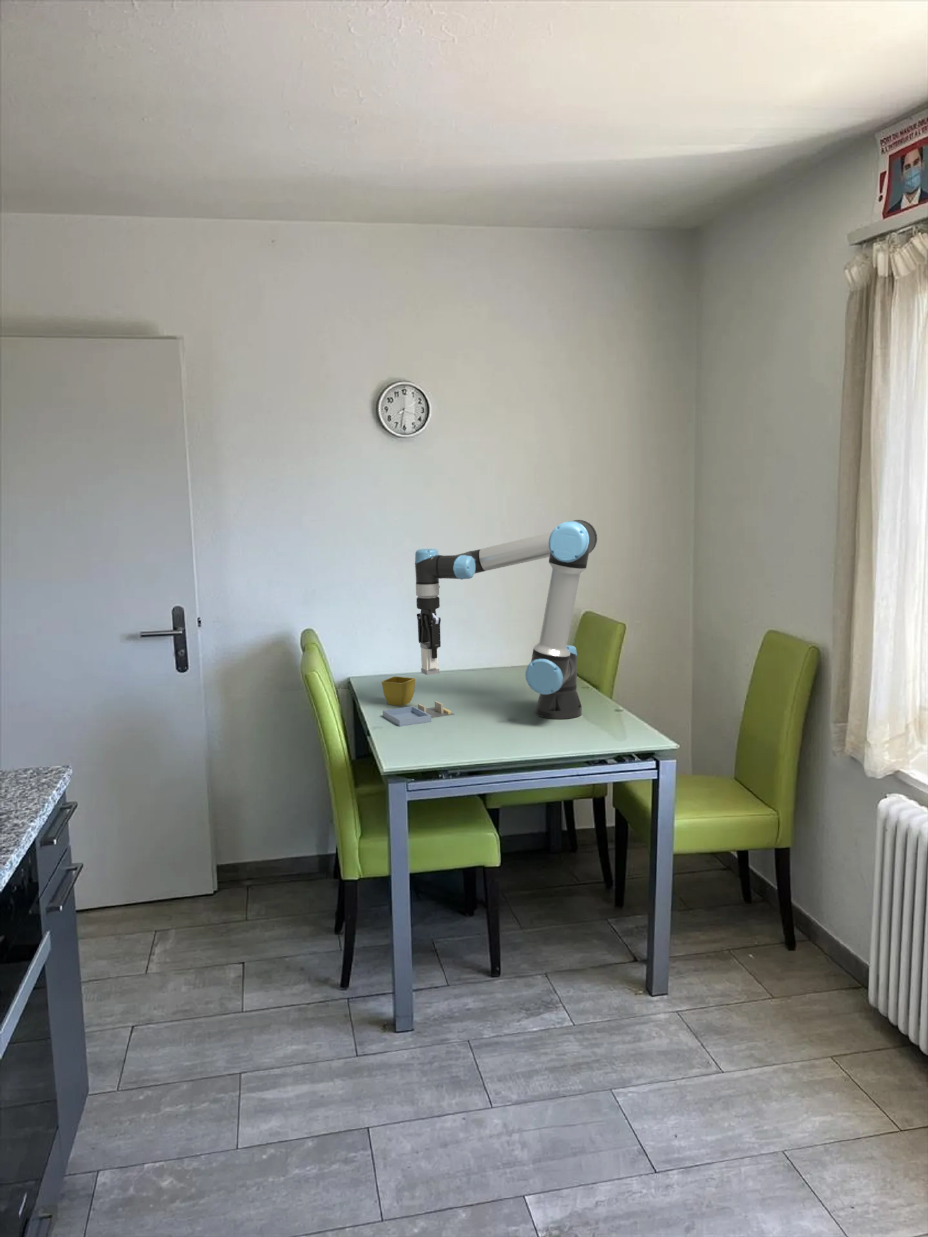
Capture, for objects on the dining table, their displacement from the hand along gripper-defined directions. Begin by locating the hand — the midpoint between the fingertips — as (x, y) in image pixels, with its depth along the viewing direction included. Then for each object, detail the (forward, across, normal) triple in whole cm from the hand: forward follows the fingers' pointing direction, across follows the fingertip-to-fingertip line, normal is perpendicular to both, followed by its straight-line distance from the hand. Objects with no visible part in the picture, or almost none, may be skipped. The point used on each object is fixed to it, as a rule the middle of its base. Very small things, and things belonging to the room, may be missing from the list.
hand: (430, 666), depth 300 cm
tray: (+16, -3, +10) cm, 19 cm away
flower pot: (+16, +17, +4) cm, 24 cm away
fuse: (+2, 0, 0) cm, 2 cm away
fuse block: (+16, 0, -1) cm, 16 cm away
